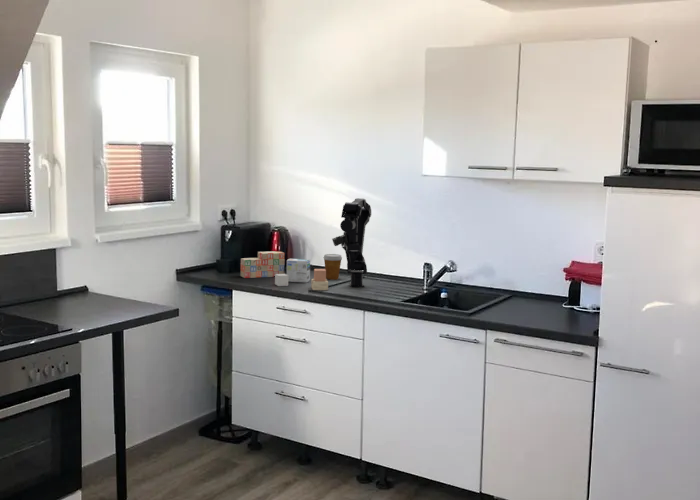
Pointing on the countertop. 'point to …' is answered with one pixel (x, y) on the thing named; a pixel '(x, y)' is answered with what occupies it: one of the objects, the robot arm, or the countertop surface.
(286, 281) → the white cube
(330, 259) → the disposable coffee cup
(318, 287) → the birch block
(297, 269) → the light bulb box
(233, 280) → the countertop surface
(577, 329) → the countertop surface
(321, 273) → the terracotta cube
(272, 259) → the stack of blocks
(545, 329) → the countertop surface
